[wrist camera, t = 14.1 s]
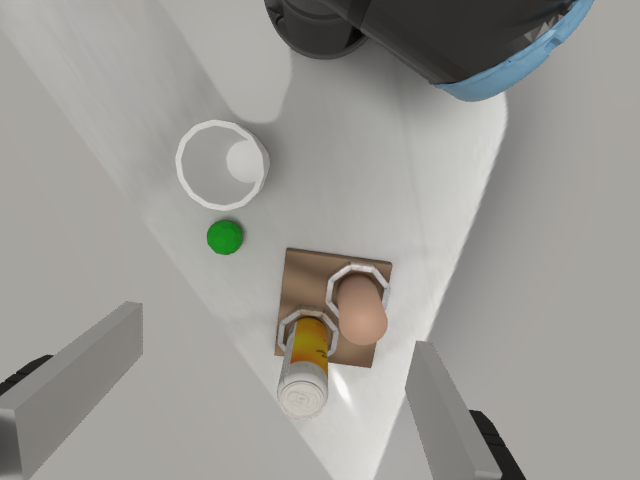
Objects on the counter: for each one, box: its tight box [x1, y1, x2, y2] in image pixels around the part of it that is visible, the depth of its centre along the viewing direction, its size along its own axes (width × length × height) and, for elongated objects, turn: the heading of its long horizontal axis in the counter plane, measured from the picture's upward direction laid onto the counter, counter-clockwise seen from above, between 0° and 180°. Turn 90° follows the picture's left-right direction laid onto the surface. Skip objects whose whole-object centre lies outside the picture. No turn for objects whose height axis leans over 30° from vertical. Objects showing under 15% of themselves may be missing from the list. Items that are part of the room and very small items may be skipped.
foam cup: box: [175, 119, 270, 211], centre depth 41 cm, size 10×9×13 cm
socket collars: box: [278, 261, 390, 356], centre depth 51 cm, size 17×16×2 cm
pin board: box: [274, 248, 392, 368], centre depth 53 cm, size 18×16×2 cm
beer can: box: [277, 318, 328, 420], centre depth 46 cm, size 6×6×15 cm
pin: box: [337, 272, 388, 345], centre depth 46 cm, size 6×6×10 cm
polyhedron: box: [207, 220, 242, 255], centre depth 48 cm, size 5×5×5 cm
